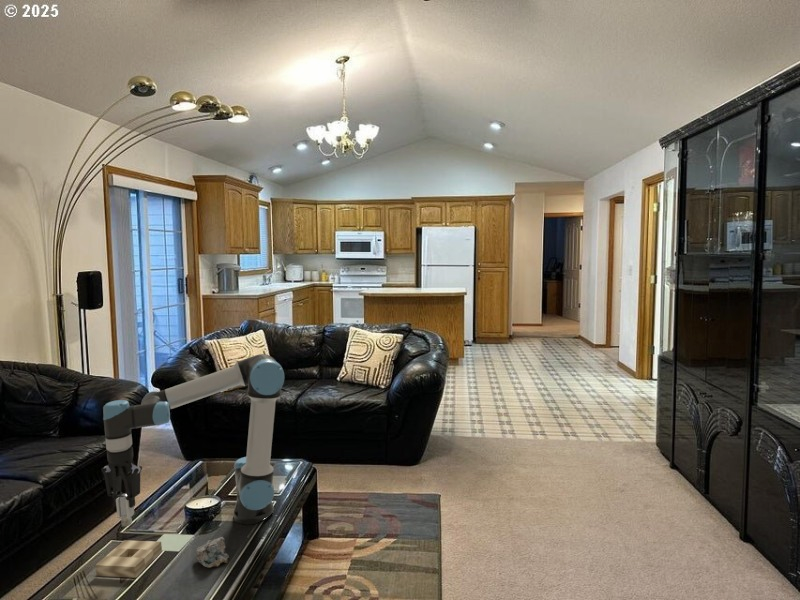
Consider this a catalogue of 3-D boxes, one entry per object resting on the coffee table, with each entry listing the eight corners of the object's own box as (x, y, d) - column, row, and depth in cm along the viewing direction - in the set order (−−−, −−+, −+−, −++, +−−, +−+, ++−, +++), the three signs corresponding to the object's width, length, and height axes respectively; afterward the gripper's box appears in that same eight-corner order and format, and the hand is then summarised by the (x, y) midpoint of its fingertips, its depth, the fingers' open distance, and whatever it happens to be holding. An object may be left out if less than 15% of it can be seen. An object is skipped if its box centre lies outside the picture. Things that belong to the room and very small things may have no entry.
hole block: (162, 552, 177) (161, 541, 176) (136, 578, 163) (134, 566, 162) (125, 550, 179) (124, 540, 178) (96, 576, 165) (95, 565, 164)
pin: (133, 521, 171) (131, 493, 170) (127, 526, 168) (125, 497, 167) (125, 521, 171) (123, 493, 170) (119, 526, 168) (117, 497, 167)
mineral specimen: (211, 581, 168) (223, 555, 177) (225, 569, 165) (236, 544, 174) (187, 566, 165) (200, 540, 175) (201, 553, 163) (213, 528, 172)
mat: (194, 536, 186) (194, 535, 186) (178, 552, 176) (178, 551, 176) (164, 534, 188) (164, 533, 188) (147, 551, 178) (147, 549, 178)
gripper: (148, 444, 170) (154, 511, 172) (106, 443, 172) (112, 509, 174) (134, 453, 162) (140, 523, 164) (89, 451, 164) (96, 520, 167)
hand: (126, 515), depth 169 cm, fingers closed on pin, 3 cm apart
